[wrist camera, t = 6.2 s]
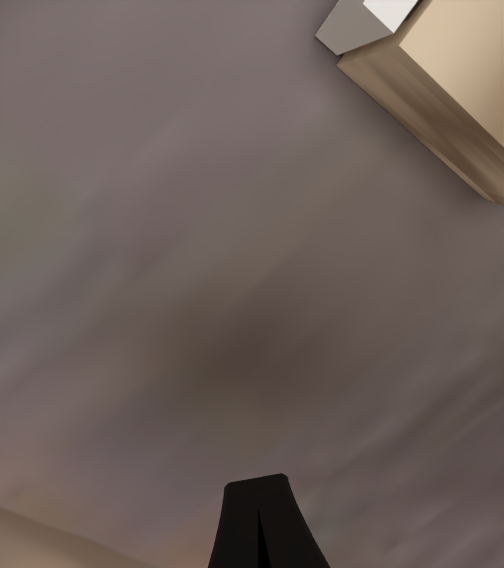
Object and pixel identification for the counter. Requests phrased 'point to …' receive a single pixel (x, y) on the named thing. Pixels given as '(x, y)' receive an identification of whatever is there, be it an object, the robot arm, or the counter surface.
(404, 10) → the door
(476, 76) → the beige rectangular block
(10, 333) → the counter surface
